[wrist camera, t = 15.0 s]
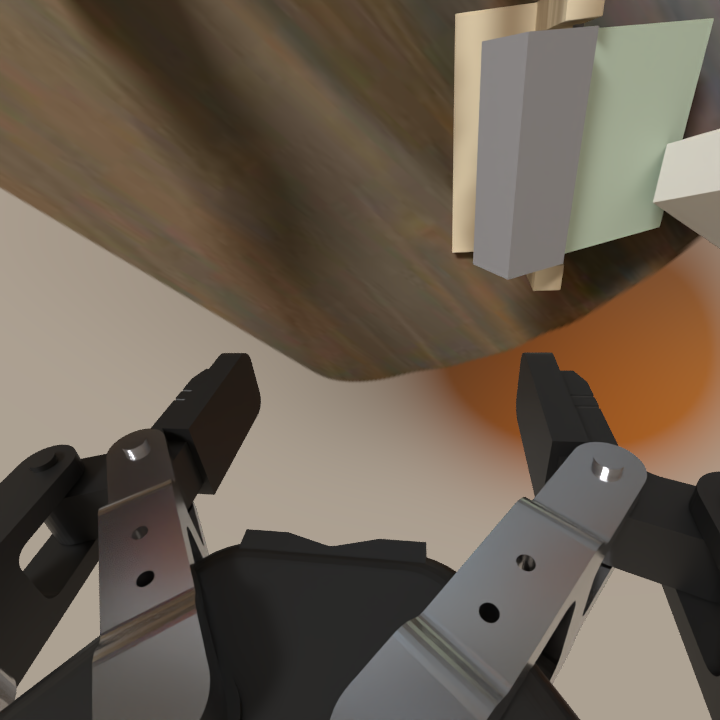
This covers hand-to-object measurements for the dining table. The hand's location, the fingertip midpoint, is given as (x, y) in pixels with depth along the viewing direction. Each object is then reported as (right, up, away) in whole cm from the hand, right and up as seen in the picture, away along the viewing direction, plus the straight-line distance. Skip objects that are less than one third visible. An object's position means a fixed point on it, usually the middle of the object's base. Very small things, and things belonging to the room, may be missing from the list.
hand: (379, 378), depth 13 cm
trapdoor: (+15, +16, +20) cm, 30 cm away
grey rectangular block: (+23, +14, +18) cm, 33 cm away
